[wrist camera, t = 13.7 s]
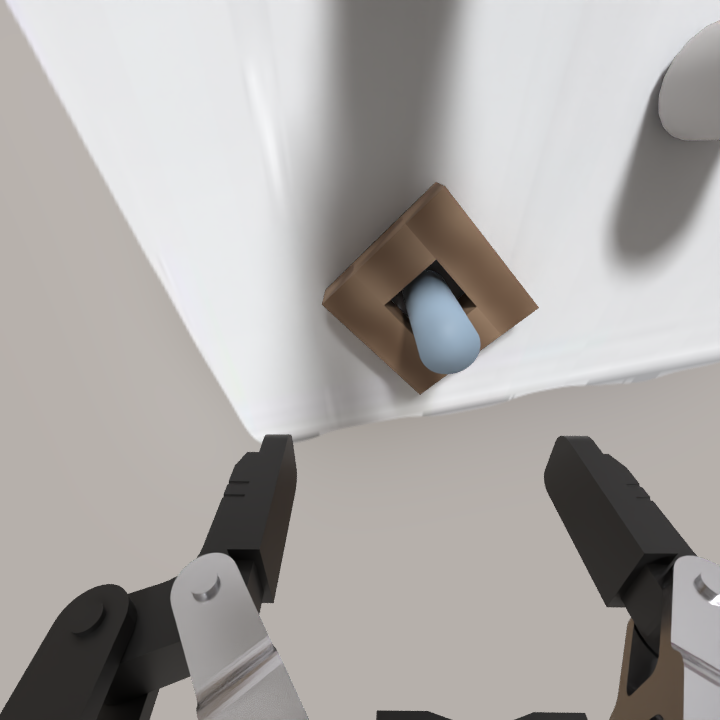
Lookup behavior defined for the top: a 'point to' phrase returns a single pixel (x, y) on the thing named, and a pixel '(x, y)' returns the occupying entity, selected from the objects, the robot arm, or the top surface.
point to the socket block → (405, 262)
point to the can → (693, 89)
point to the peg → (440, 325)
